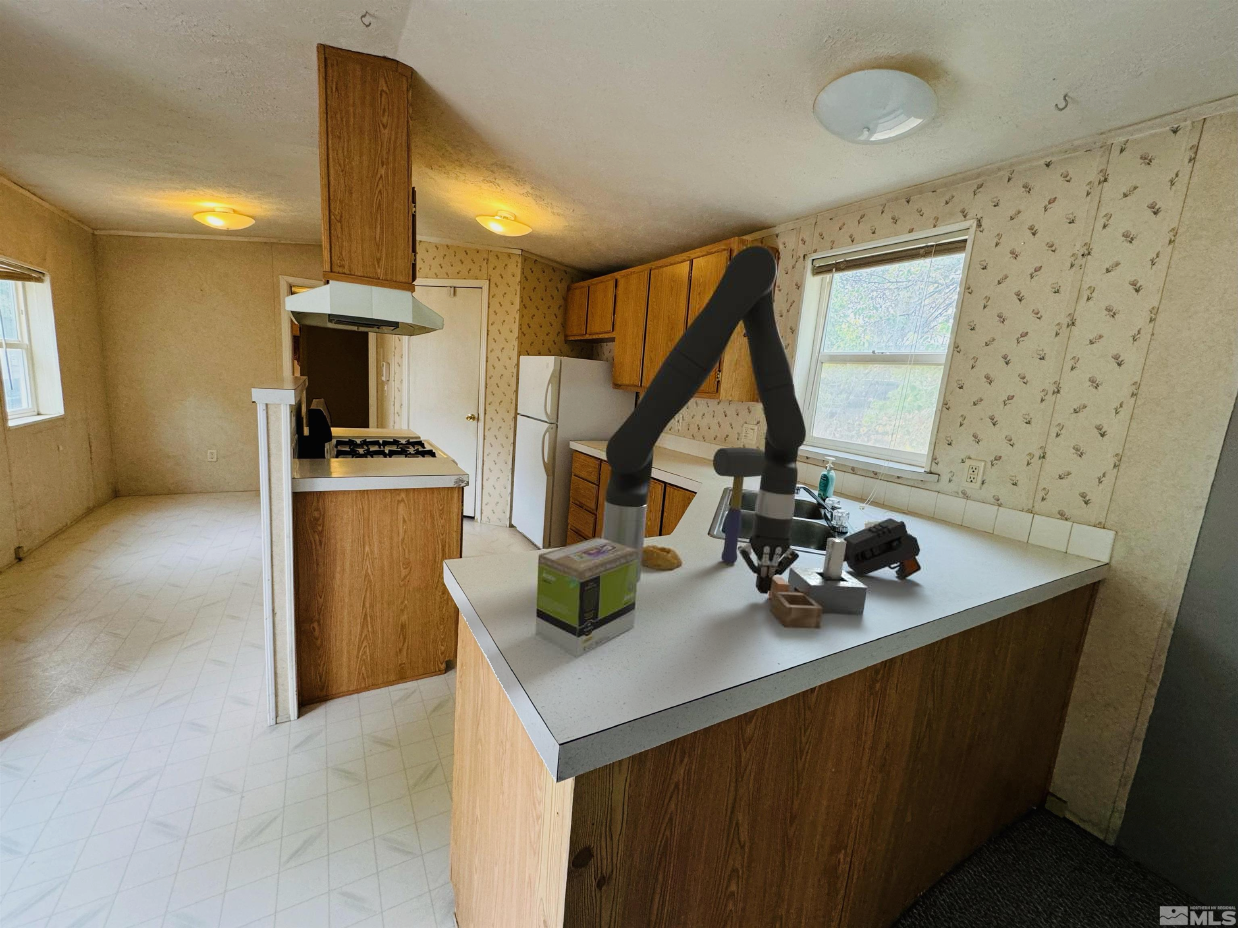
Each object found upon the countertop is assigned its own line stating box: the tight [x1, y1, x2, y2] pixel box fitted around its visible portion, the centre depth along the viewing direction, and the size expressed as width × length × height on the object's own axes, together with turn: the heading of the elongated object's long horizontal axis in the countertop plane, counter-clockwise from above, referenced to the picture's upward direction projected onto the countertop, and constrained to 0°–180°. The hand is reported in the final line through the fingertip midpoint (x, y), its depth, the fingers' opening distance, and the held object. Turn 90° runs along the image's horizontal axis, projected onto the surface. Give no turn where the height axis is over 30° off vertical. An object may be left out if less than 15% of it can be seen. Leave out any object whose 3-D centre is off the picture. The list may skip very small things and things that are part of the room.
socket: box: [787, 566, 868, 616], centre depth 105 cm, size 12×10×6 cm
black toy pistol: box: [843, 517, 922, 580], centre depth 125 cm, size 6×19×15 cm, turn 89°
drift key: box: [767, 576, 801, 600], centre depth 104 cm, size 9×4×4 cm, turn 95°
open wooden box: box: [769, 592, 823, 629], centre depth 96 cm, size 7×7×4 cm
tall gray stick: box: [822, 537, 846, 582], centre depth 104 cm, size 4×4×14 cm
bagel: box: [642, 544, 683, 571], centre depth 121 cm, size 10×11×5 cm
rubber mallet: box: [712, 446, 764, 566], centre depth 123 cm, size 12×8×30 cm, turn 113°
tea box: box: [535, 536, 638, 658], centre depth 84 cm, size 15×10×15 cm, turn 141°
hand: (762, 592), depth 104 cm, fingers closed
